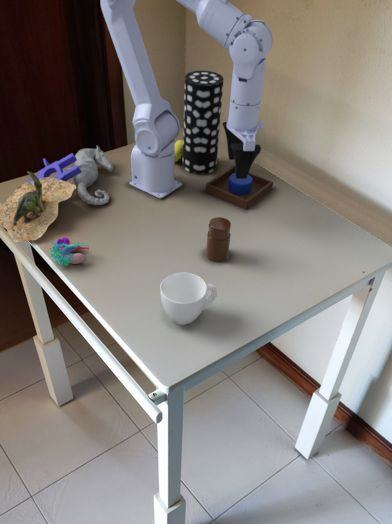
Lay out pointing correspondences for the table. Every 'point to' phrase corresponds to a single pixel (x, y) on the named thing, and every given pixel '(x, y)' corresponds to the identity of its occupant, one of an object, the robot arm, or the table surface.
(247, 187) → the jar lid
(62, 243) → the anatomy model
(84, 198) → the seahorse
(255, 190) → the tray
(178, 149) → the lemon
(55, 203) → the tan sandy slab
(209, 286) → the cup
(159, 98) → the robot arm
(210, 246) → the jar
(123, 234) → the table surface
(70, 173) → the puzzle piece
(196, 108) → the spotted tube
